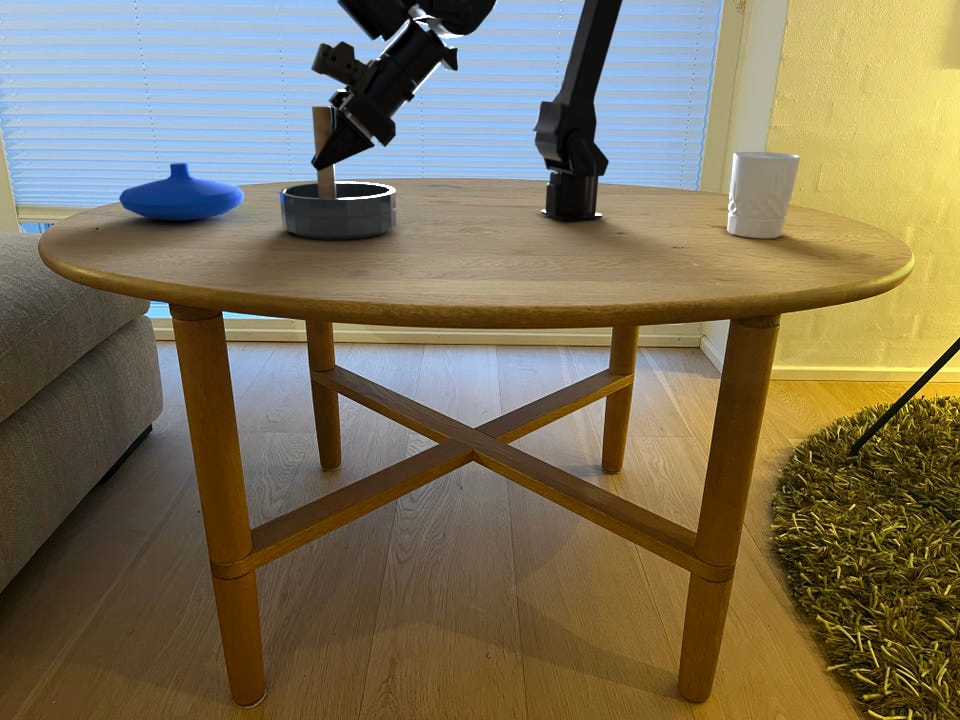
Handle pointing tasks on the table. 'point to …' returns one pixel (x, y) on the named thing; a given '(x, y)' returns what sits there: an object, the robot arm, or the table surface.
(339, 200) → the bowl
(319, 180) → the stirring stick
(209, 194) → the vase
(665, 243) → the table surface
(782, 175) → the white cup
